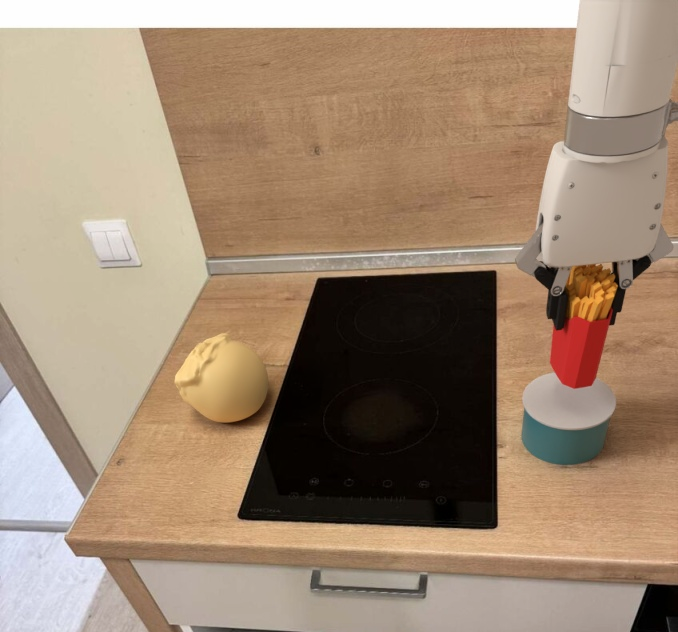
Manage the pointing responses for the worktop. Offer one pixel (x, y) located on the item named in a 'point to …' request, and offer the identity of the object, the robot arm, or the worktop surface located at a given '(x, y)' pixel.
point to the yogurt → (565, 419)
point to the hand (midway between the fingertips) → (581, 318)
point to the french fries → (583, 325)
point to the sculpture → (223, 379)
